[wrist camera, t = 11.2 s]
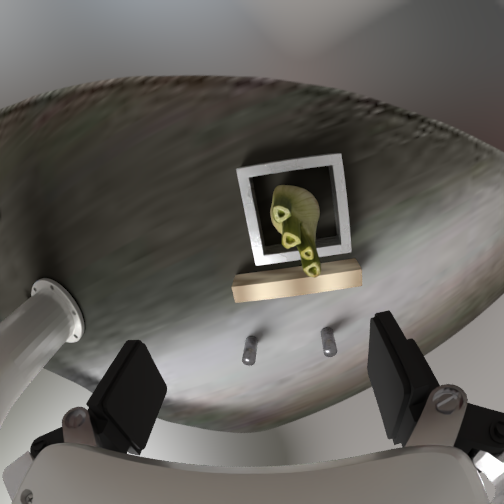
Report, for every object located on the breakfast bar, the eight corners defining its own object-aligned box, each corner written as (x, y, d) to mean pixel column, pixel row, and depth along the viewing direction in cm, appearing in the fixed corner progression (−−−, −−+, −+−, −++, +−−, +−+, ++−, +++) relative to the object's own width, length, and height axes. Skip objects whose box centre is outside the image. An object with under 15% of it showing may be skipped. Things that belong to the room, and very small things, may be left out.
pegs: (247, 345, 37) (243, 365, 33) (244, 336, 36) (240, 356, 32) (332, 335, 35) (337, 355, 31) (332, 326, 34) (337, 346, 31)
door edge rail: (239, 289, 34) (235, 302, 31) (235, 274, 33) (231, 287, 30) (355, 273, 31) (362, 285, 29) (355, 258, 31) (361, 269, 28)
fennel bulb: (269, 181, 29) (261, 205, 17) (316, 179, 28) (339, 202, 17) (272, 234, 31) (267, 287, 20) (317, 232, 30) (337, 284, 19)
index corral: (257, 255, 32) (255, 265, 29) (240, 167, 28) (236, 169, 26) (345, 243, 30) (351, 252, 28) (335, 152, 27) (341, 153, 24)
